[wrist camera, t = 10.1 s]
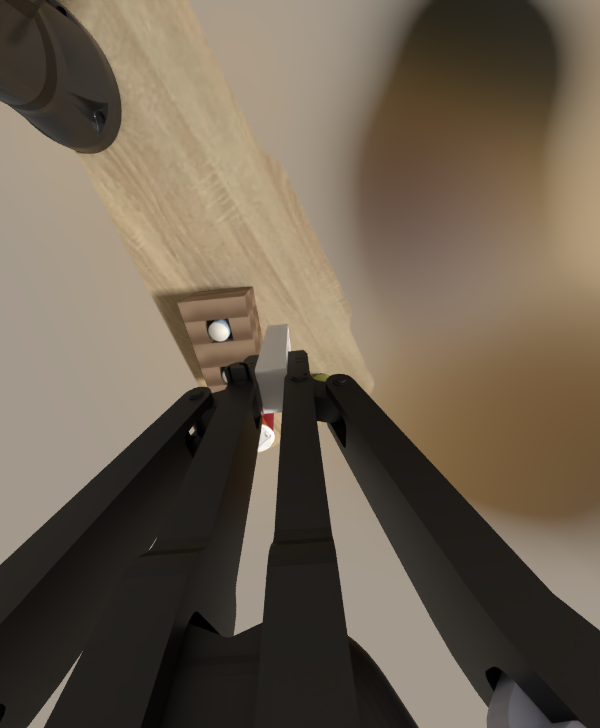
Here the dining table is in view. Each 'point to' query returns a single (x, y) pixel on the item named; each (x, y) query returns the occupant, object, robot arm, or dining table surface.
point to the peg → (220, 329)
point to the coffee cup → (266, 431)
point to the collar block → (240, 342)
